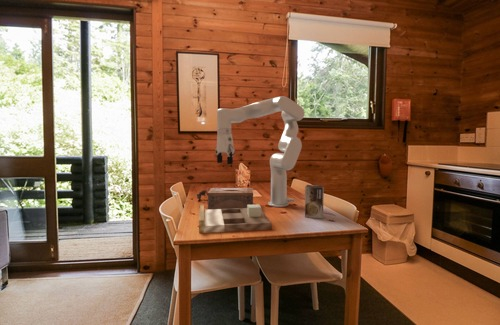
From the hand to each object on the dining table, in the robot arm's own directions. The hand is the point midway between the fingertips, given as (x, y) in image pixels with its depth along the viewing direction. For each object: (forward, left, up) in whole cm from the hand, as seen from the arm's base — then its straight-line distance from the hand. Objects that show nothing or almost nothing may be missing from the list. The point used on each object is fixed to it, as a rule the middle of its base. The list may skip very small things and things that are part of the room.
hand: (224, 163), depth 153 cm
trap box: (-2, +19, -27) cm, 33 cm away
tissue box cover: (-4, -11, -27) cm, 30 cm away
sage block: (-13, +19, -24) cm, 33 cm away
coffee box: (-45, +16, -27) cm, 55 cm away
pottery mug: (+10, -29, -27) cm, 41 cm away
